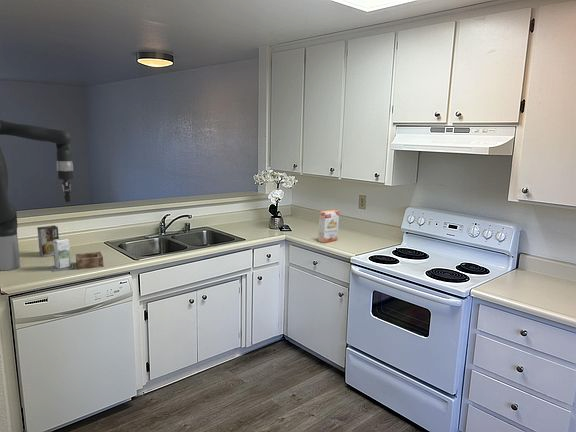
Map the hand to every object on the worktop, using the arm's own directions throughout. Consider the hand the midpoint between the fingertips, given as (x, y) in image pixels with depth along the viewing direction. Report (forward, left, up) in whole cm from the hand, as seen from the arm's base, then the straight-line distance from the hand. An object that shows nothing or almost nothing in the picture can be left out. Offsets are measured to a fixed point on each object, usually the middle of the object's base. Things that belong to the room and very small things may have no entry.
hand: (67, 200), depth 218 cm
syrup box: (-4, -11, -33) cm, 35 cm away
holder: (+8, -11, -33) cm, 36 cm away
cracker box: (+156, -19, -33) cm, 161 cm away
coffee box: (-10, +19, -33) cm, 40 cm away
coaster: (-4, -11, -33) cm, 35 cm away
